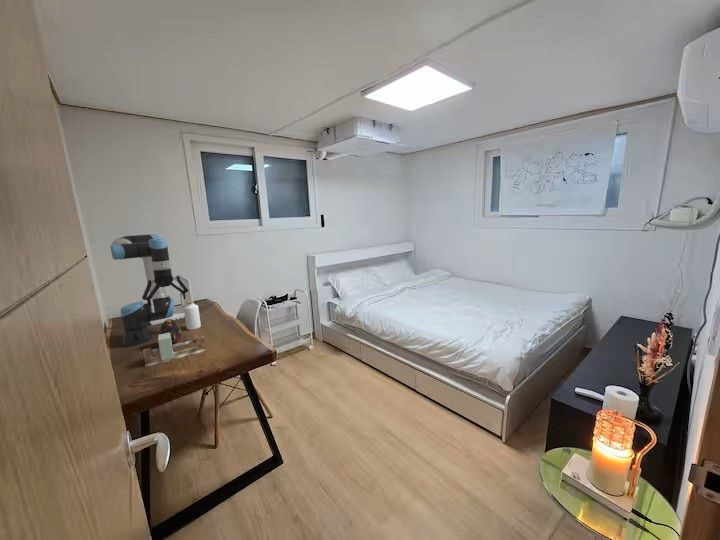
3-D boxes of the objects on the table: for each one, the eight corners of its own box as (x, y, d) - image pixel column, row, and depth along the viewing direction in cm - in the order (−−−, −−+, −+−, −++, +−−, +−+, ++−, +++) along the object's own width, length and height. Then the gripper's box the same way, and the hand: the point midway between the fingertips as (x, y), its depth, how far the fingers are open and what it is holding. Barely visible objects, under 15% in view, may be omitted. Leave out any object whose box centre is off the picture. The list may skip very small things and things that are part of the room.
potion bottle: (183, 329, 191) (179, 303, 187) (195, 325, 198) (191, 299, 195) (192, 331, 187) (188, 304, 184) (203, 326, 195) (200, 300, 192)
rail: (145, 366, 142) (142, 351, 141) (146, 359, 150) (143, 344, 148) (206, 351, 157) (204, 337, 155) (204, 345, 164) (202, 332, 163)
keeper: (161, 360, 146) (158, 340, 144) (162, 354, 153) (158, 334, 151) (173, 357, 149) (170, 337, 147) (173, 351, 156) (169, 332, 154)
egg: (185, 343, 169) (181, 318, 166) (163, 349, 161) (159, 324, 159) (180, 338, 176) (176, 314, 174) (159, 344, 169) (155, 319, 166)
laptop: (144, 314, 226) (138, 279, 221) (185, 306, 245) (180, 274, 240) (151, 325, 201) (144, 286, 196) (195, 315, 220) (190, 279, 215)
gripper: (133, 273, 136) (141, 316, 140) (191, 266, 154) (196, 304, 158) (130, 272, 141) (137, 313, 145) (186, 264, 159) (192, 301, 163)
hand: (168, 308), depth 152 cm, fingers open, 13 cm apart
